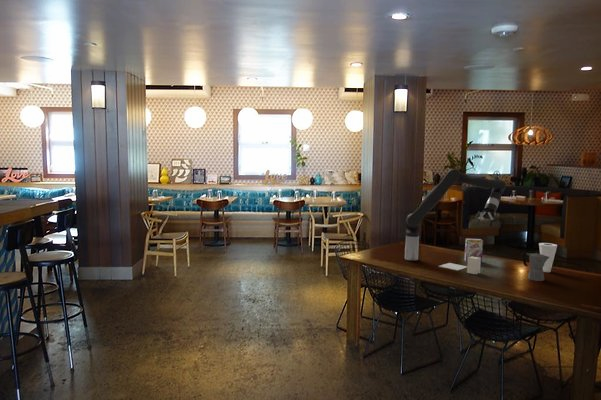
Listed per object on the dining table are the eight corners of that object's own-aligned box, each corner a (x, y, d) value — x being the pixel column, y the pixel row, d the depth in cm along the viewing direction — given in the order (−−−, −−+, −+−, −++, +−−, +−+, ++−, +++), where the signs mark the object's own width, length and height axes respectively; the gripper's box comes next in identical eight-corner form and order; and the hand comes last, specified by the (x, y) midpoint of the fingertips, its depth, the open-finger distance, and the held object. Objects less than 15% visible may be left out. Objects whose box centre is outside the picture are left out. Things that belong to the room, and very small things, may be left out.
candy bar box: (465, 262, 319) (467, 239, 317) (464, 260, 324) (465, 238, 322) (482, 262, 318) (483, 240, 316) (480, 261, 323) (481, 238, 321)
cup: (553, 274, 289) (555, 246, 287) (535, 271, 296) (536, 244, 294) (557, 271, 297) (559, 244, 295) (539, 268, 304) (541, 242, 302)
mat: (457, 270, 296) (457, 270, 296) (438, 266, 306) (438, 265, 306) (468, 267, 305) (468, 266, 305) (449, 263, 315) (449, 262, 315)
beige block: (475, 274, 286) (476, 259, 285) (467, 272, 291) (467, 257, 290) (480, 273, 290) (480, 257, 289) (471, 271, 294) (472, 256, 293)
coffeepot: (549, 279, 277) (550, 250, 275) (546, 282, 270) (548, 253, 268) (521, 275, 286) (523, 247, 284) (518, 278, 278) (520, 249, 277)
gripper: (479, 202, 306) (471, 221, 300) (500, 203, 296) (492, 222, 289) (483, 208, 310) (475, 227, 304) (503, 210, 300) (496, 229, 293)
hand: (483, 225), depth 297 cm, fingers open, 8 cm apart
